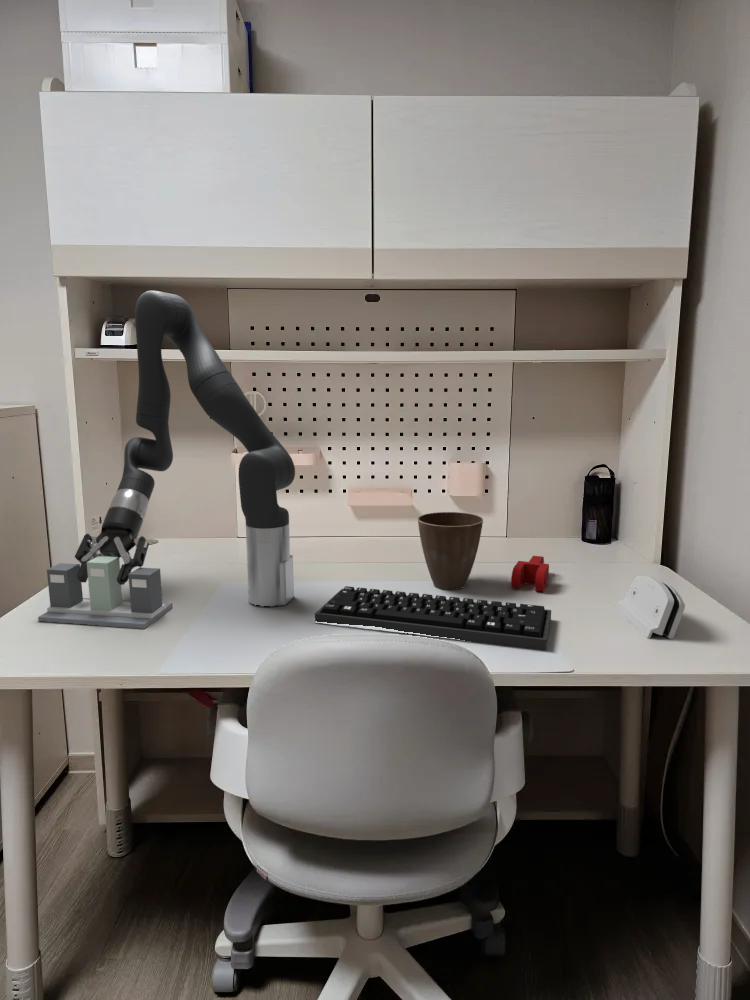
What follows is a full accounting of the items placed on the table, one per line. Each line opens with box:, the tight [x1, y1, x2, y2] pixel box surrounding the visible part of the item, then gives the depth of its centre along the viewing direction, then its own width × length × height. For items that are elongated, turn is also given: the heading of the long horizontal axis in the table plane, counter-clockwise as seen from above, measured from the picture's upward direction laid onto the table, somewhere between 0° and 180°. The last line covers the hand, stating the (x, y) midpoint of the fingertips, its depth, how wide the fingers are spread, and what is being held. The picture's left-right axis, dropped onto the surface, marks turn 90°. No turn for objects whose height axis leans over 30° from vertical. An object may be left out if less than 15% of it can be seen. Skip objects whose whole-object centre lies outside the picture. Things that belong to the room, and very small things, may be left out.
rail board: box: [37, 562, 173, 630], centre depth 141 cm, size 23×12×10 cm, turn 80°
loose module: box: [87, 556, 124, 611], centre depth 141 cm, size 4×5×10 cm
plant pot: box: [417, 511, 484, 591], centre depth 159 cm, size 15×15×16 cm
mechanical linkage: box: [510, 555, 550, 593], centre depth 163 cm, size 16×7×5 cm, turn 157°
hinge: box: [614, 575, 686, 640], centre depth 137 cm, size 17×5×10 cm, turn 2°
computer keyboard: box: [314, 585, 552, 652], centre depth 138 cm, size 45×16×4 cm, turn 73°
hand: (100, 582), depth 139 cm, fingers open, 8 cm apart
